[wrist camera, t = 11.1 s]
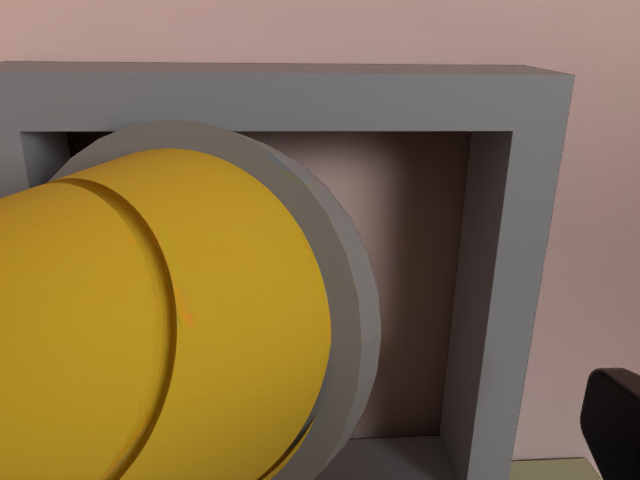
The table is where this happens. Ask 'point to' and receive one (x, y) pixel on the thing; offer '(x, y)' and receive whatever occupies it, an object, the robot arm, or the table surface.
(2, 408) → the yellow cone shape
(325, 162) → the table surface
